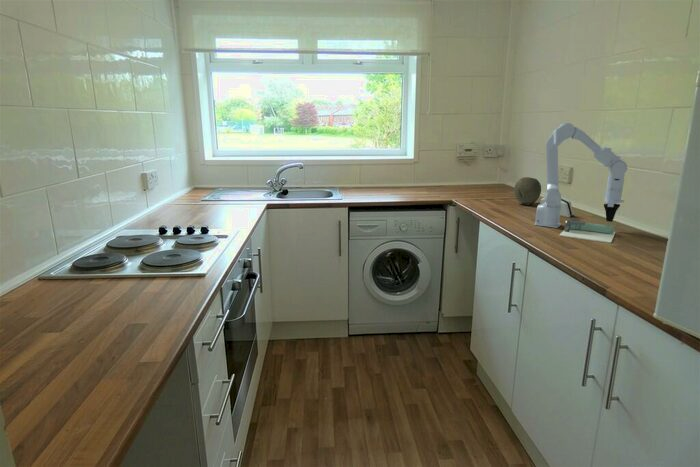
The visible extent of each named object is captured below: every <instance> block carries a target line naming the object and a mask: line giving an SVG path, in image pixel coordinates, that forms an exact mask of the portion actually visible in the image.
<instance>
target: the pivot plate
mask: <svg viewBox="0 0 700 467" xmlns="http://www.w3.org/2000/svg"><path fill="white" fill-rule="evenodd" d="M569 221H580V219H579V218H573V217H570V220H569ZM615 234H616V231H614V233H603V232H595V231H587V230H580V229H570V230H569V232H565V231H564V229H563V230H562V231H561V232H560V234H559V237H564V238H565V237H566V238H572V239H578V240H586V241H594V242H600V243H608V244H612V242H613V239H614V236H615Z"/></svg>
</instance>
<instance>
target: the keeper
mask: <svg viewBox="0 0 700 467" xmlns="http://www.w3.org/2000/svg"><path fill="white" fill-rule="evenodd" d="M585 223H586V221H580V220H579V221H571V220H565V221H564V229H563V230H564V231H565V232H569V230H570V224H577V225H585Z"/></svg>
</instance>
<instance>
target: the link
mask: <svg viewBox="0 0 700 467" xmlns="http://www.w3.org/2000/svg"><path fill="white" fill-rule="evenodd" d="M570 229H580V230H587V231H595V232H603V233H614V232H615V226H614V225H609V224H601V223H600V224H599V223H594V222H593V223H591V222H585V225H577V224H570Z"/></svg>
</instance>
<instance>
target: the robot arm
mask: <svg viewBox="0 0 700 467" xmlns="http://www.w3.org/2000/svg"><path fill="white" fill-rule="evenodd" d="M570 138H571V139H573V140H577V141H579V142H580V143H582V144H583V145H585V147H587V148H588V149H589V150H591V151H592V152H593V158H595V159H596V160H597V161H598V162H599V163H600V164H602V165H603V166H604V167H605V168H608V171H609V173H608V177H607V184H606V190H605V196H604V197H605V198H604V200H603V201H604V203H603V207H604V210H605V219H606V222H610V223H611V222H613V221H614V219H615V216H616V213H617V211H618V209H619V208H620V207H621V204H620V203H625V200H623V199H622V197H623V196H622V195H623V190H624V182H625V174H626V172H627V170H628V164H627V163H626V162H625V161H623V159H621V156H620V155H617V154H615V153H614V152H613V151H612V148H611V147H609V146H608V147H607V146H606V145H605V146H601V145H599V144H598V143H597V142H596V141H595V140H593V138H591V137H590V135H588V134H587V133H586V132H585V131H583V130H582V129H580V128H578V127H576V126H575V125H574V124H572V123H570V122H562V123H561V124H560V125H558V126H557V127H556V128H554V130H553V131H552V133H551V135H550V136H549V138H548V139H547V141H546V142H545V145H546V146H545V149H546V150H545V151H546V152H545V154H546V156H545V157H546V185H547V186H546V189H547V190H546V191H545V195H544V197H545V203H543V205H540V204H538V205H537V207H536V212H535V221H534V226H539V227H540V226H541V227H549V228H555V229H558V228H559V227H560V226H561V225H562V223H560V218H561V215H560V210H561V205H560V204H559V203H560V202H561V197H562V195H561V192H560V190H559V188H560V187H559V158H558V157H559V152H558V150H559V149H558V148H559V146H560V145H561V144H562V143H563V142H565V141H566V140H568V139H570Z"/></svg>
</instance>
